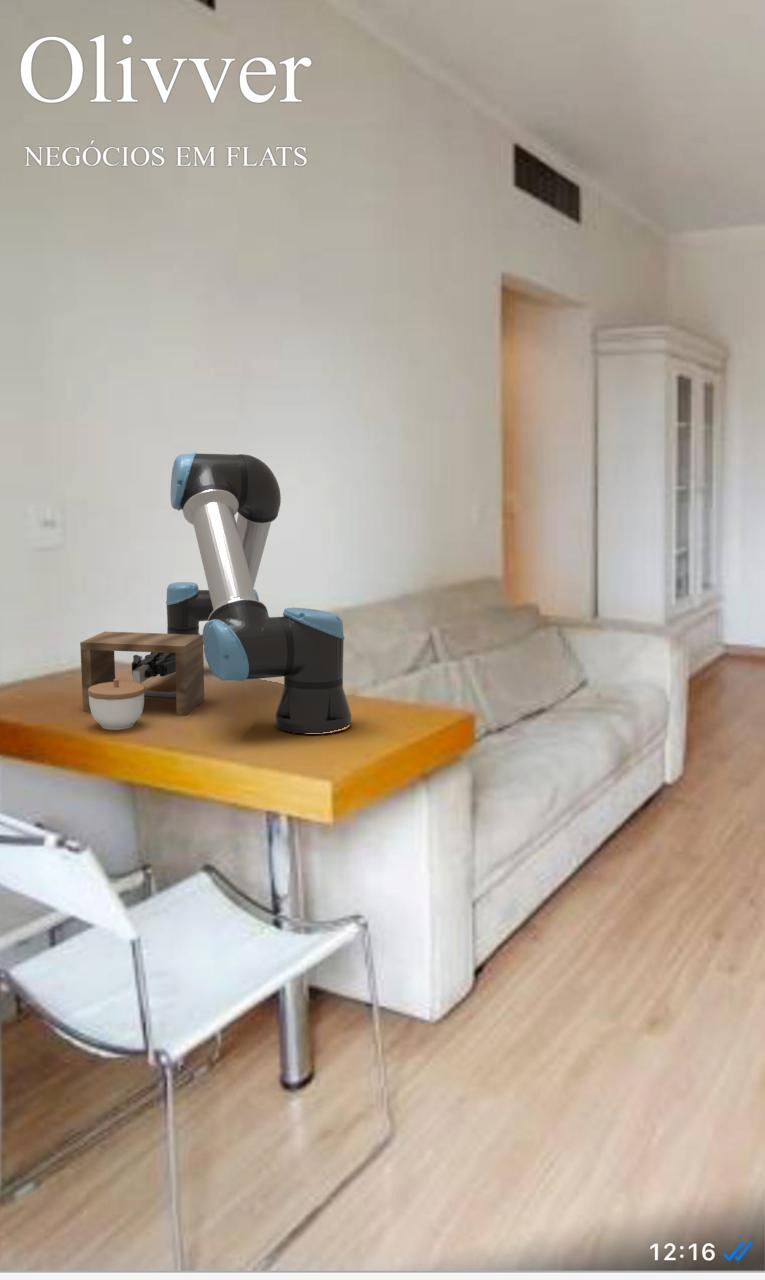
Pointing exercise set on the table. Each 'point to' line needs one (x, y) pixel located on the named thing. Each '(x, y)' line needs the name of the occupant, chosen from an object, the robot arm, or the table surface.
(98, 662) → the tunnel
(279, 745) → the table surface
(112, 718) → the lidded jar
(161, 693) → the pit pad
